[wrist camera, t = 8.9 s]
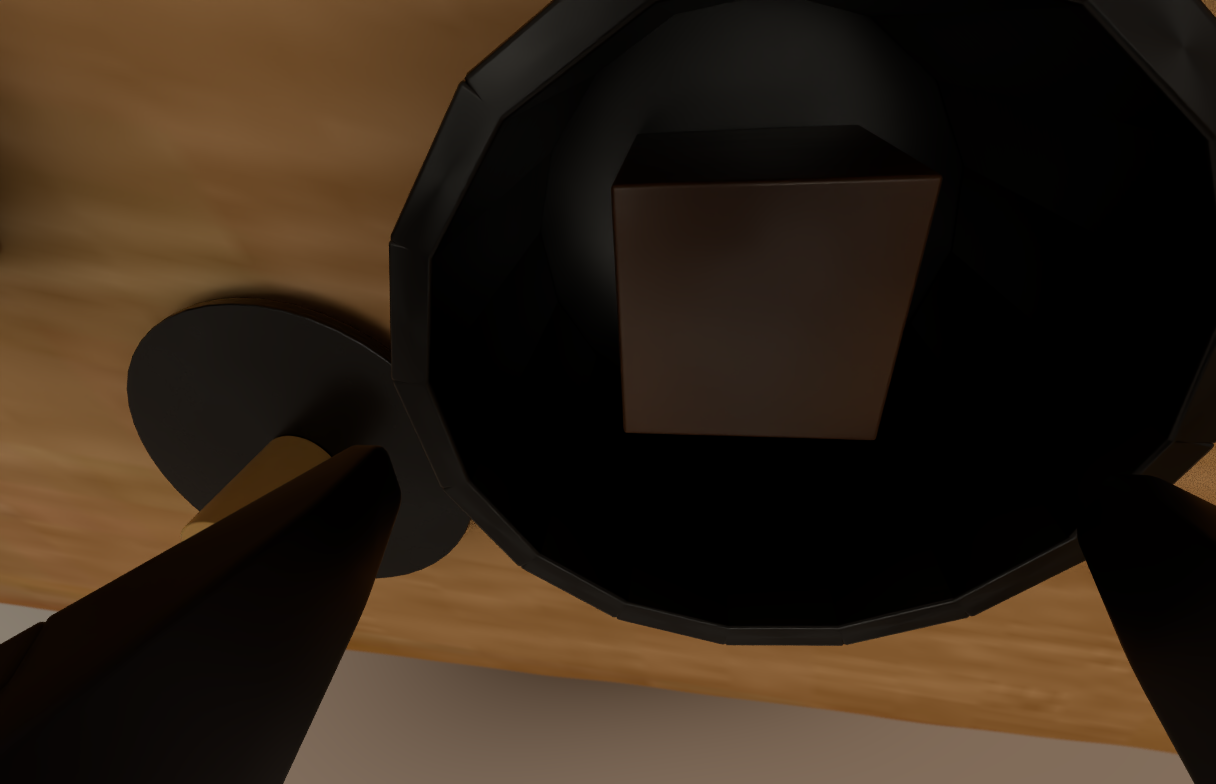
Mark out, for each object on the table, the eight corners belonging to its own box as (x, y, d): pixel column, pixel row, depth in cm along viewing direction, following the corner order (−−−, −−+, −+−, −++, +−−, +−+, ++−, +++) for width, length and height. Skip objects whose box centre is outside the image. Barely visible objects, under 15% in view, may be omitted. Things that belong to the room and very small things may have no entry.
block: (641, 326, 16) (623, 434, 12) (635, 133, 13) (609, 184, 9) (825, 327, 15) (876, 442, 11) (860, 123, 12) (946, 174, 8)
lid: (193, 518, 24) (85, 625, 20) (107, 247, 17) (-87, 320, 13) (471, 585, 24) (424, 705, 20) (497, 342, 17) (434, 447, 13)
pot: (505, 363, 18) (393, 566, 11) (560, -99, 11) (377, -271, 5) (850, 448, 18) (943, 698, 11) (1095, 36, 11) (1645, 54, 5)
